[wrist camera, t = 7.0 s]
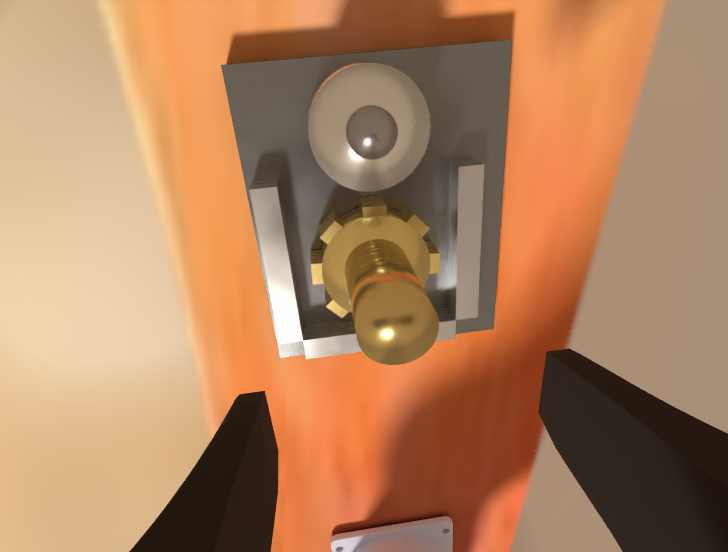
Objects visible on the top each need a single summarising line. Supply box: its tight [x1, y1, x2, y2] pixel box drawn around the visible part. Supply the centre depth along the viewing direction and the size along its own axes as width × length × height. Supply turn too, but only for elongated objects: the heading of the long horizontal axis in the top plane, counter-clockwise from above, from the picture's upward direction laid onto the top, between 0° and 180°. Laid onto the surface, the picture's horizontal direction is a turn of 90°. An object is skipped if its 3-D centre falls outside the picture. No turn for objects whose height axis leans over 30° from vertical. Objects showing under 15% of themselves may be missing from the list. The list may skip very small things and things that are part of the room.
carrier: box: [221, 40, 512, 359], centre depth 17 cm, size 12×10×4 cm
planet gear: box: [310, 195, 440, 365], centre depth 16 cm, size 5×5×6 cm
